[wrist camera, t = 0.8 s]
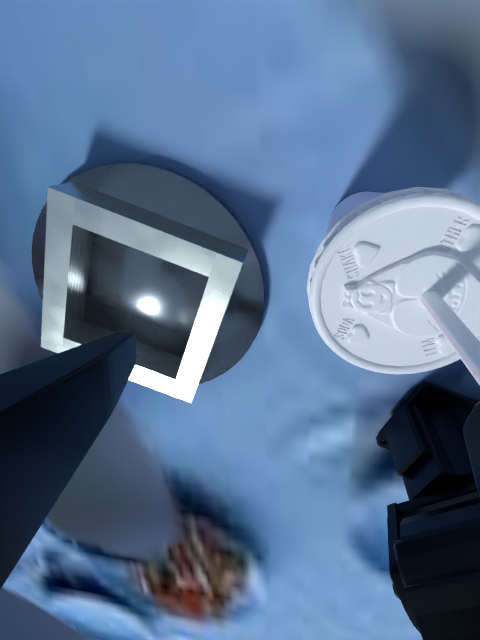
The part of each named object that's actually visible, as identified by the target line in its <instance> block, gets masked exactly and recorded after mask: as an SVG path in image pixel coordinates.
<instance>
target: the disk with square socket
mask: <svg viewBox="0 0 480 640" xmlns="http://www.w3.org/2000/svg"><path fill="white" fill-rule="evenodd" d="M32 265H33V271H34V277H35V281H36V284H37V288H38V291H39V294H40V296H41V298H42V301H43V312H42V335H41V347H43V348H45V349H48V350H51V351H53V352H56V353H60V352H63V351H66V350H68V349H71V348H74V347H77V346H79V345H82V344H85V343H88V342H90V341H93V340H96V339H99V338H101V337H104V336H107V335H109V334H112V333H115V332H118V331H124V332H129V333H133V334H134V335H135V337H136V357H137V358H136V364H135V367H134V369H133V371H132V373H131V375H130V378H129V380H130V381H133V382H136V383H139V384H142V385H144V386H147V387H150V388H152V389H155V390H158V391H160V392H163V393H166V394H168V395H171V396H174V397H176V398H179V399H182V400H185V401H187V402H190V403H191V402H192V399H193V397H194V395H195V392H196V390H197V387H198V385H199V384H201V383H204V382H206V381H209V380H212V379H214V378H216V377H218V376H220V375H222V374H223V373H225V372H226V371H228V370H229V369H230V368H232V367H233V366H234V365H235V364H236V363H237V362H238V361H239V360H240V359H241V358H242V357H243V356H244V355H245V353H246V352H247V351H248V349H249V348H250V346H251V345H252V343H253V341H254V339H255V337H256V335H257V332H258V329H259V326H260V323H261V318H262V313H263V308H264V293H265V291H264V280H263V274H262V270H261V265H260V261H259V259H258V256H257V253H256V251H255V248H254V245H253V244H252V242H251V240H250V238H249V236H248V234H247V232H246V231H245V229H244V228H243V226H242V225H241V224H240V222H239V221H238V219H237V218H236V217H235V215H234V214H233V213H232V212H231V211H230V210H229V209H228V208H227V207H226V206H225V204H224V203H223V202H222V201H220V200H219V199H218V198H217V197H216V196H215V195H213V194H212V193H211V192H210V191H209V190H207V189H206V188H204V187H203V186H201V185H199V184H198V183H196V182H195V181H193V180H192V179H189V178H187V177H185V176H183V175H181V174H179V173H177V172H174V171H171V170H168V169H165V168H162V167H159V166H154V165H148V164H142V163H118V164H110V165H103V166H99V167H96V168H93V169H89V170H86V171H84V172H82V173H80V174H78V175H76V176H74V177H72V178H71V179H69V180H68V181H67V182H65V183H64V184H60V185H55V186H50V187H48V195H47V203H46V204H45V206H44V207H43V209H42V211H41V213H40V216H39V218H38V220H37V223H36V227H35V231H34V235H33V243H32Z"/></svg>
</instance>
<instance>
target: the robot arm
mask: <svg viewBox="0 0 480 640" xmlns="http://www.w3.org/2000/svg"><path fill="white" fill-rule="evenodd" d="M136 358H137V357H136V337H135V335H134V334H133V333H129V332H124V331H118V332H115V333H112V334H109V335H107V336H104V337H101V338H99V339H96V340H93V341H90V342H88V343H85V344H82V345H79V346H77V347H74V348H71V349H68V350H66V351H63V352H60V353H58V354H55V355H52V356H49V357H47V358H44V359H41V360H39V361H36V362H33V363H30V364H28V365H25V366H22V367H19V368H17V369H14V370H11V371H8V372H6V373H3V374H0V589H1V588H2V586H3V585H4V583H5V581H6V580H7V578H8V577H9V575H10V574H11V572H12V570H13V569H14V567H15V566H16V564H17V562H18V561H19V559H20V558H21V556H22V555H23V553H24V551H25V550H26V548H27V547H28V545H29V544H30V542H31V540H32V539H33V537H34V536H35V534H36V533H37V531H38V529H39V528H40V526H41V525H42V523H43V521H44V520H45V518H46V517H47V515H48V514H49V512H50V510H51V509H52V507H53V506H54V504H55V502H56V501H57V499H58V498H59V496H60V495H61V493H62V491H63V490H64V488H65V487H66V485H67V484H68V482H69V480H70V479H71V477H72V476H73V474H74V473H75V471H76V469H77V468H78V466H79V465H80V463H81V461H82V460H83V458H84V457H85V455H86V454H87V452H88V450H89V449H90V447H91V445H92V444H93V443H94V441H95V439H96V438H97V436H98V435H99V433H100V432H101V430H102V428H103V427H104V425H105V423H106V422H107V420H108V419H109V417H110V416H111V414H112V412H113V410H114V408H115V406H116V404H117V402H118V400H119V398H120V396H121V394H122V392H123V390H124V388H125V386H126V384H127V382H128V380H129V378H130V375H131V373H132V371H133V369H134V367H135V364H136ZM426 389H429V390H428V391H424V390H426ZM376 440H377V444H378V445H379V446H381V447H383V448H386V449H389V450H391V454H392V457H393V461H394V464H395V468H396V471H397V473H398V475H400V476H402V477H403V481H404V484H405V487H406V491H407V494H408V498H409V501H406V502H402V503H399V504H397V503H393V504H390V505H387V511H388V518H387V524H388V546H389V568H390V576H391V579H392V581H393V590H394V593H395V595H396V597H397V598H398V599H400V600H401V602H402V604H403V607H404V609H405V611H406V613H407V615H408V617H409V619H410V620H411V622H412V623H413V625H414V626H415V628H416V629H417V630H418V631H419V632H420V633H421V635H422V638H423V640H480V402H478V401H475V400H473V399H470V398H467V397H465V396H462V395H460V394H457V393H454V392H452V391H449V390H447V389H444V388H441V387H439V386H436V385H434V384H431V383H422V384H420V385H419V386H418V387H417V389H416V390H415V391H414V392H413V393H412V395H411V396H410V397H409V398H408V399H407V401H406V402H405V403H404V404H403V405H402V406H401V407H400V408H399V409H398V410H397V412H396V413H395V414H394V415H393V416H392V418H391V419H390V420H389V421H388V422H387V424H386V425H385V426H384V428H383V430H382V431H381V432H380V433H379V434H378V436H377V437H376ZM382 440H385V441H382Z"/></svg>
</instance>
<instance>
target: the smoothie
mask: <svg viewBox="0 0 480 640" xmlns="http://www.w3.org/2000/svg"><path fill="white" fill-rule="evenodd" d="M307 294H308V301H309V308H310V311H311V314H312V318H313V321H314V324H315V326H316V329H317V331H318V332H319V334H320V336H321V337H322V339H323V340H324V342H325V343H326V344H327V345H328V346H329V347H330V348H331V349H332V350H333V351H334V352H335V353H336V354H337V355H339V356H340V357H341V358H343V359H345V360H346V361H348V362H350V363H352V364H354V365H356V366H358V367H361V368H364V369H367V370H370V371H374V372H379V373H386V374H412V373H419V372H425V371H429V370H434V369H437V368H440V367H443V366H446V365H448V364H451V363H453V362H455V361H457V360H459V359H461V360H462V361H463V363H464V364H465V366H466V367H467V368H468V370H469V371H470V373H471V374H472V375H473V377H474V378H475V380H476V381H477V382H478V384H479V385H480V203H478V202H477V201H475V200H474V199H473V198H470V197H468V196H465V195H462V194H460V193H457V192H454V191H451V190H449V189H444V188H429V187H412V188H407V189H402V190H397V191H392V192H387V193H379V192H369V191H365V192H358V193H355V194H352V195H350V196H348V197H347V198H345V199H344V200H343V201H341V202H340V203H339V204H338V205H337V207H336V208H335V209H334V211H333V213H332V215H331V217H330V221H329V225H328V229H327V234H326V237H325V238H324V239H323V240H322V242H321V243H320V245H319V247H318V249H317V251H316V254H315V256H314V258H313V260H312V263H311V265H310V270H309V276H308V283H307Z"/></svg>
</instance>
